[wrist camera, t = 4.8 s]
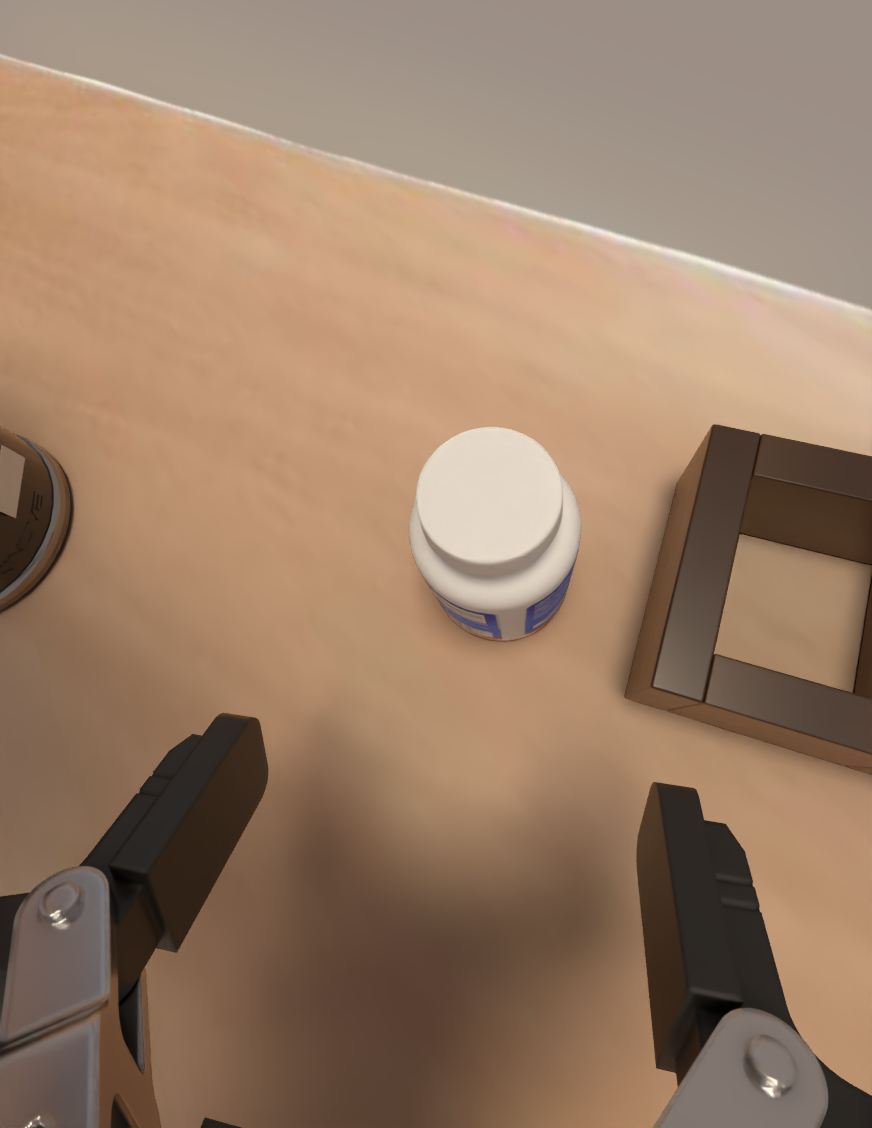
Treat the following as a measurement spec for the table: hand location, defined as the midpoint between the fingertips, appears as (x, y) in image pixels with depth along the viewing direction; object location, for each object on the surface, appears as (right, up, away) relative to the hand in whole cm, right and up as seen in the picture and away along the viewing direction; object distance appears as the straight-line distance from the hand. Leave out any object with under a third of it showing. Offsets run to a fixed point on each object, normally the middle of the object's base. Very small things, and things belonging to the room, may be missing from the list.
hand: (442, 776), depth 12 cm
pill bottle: (+3, +4, +13) cm, 14 cm away
